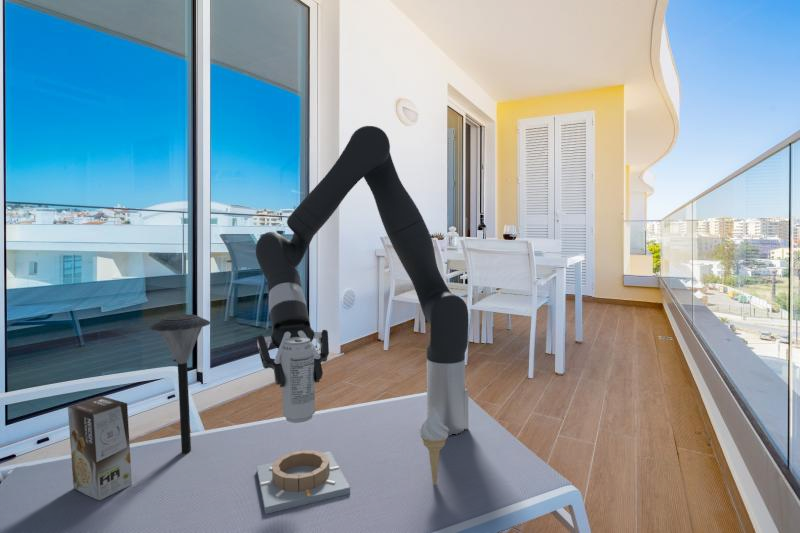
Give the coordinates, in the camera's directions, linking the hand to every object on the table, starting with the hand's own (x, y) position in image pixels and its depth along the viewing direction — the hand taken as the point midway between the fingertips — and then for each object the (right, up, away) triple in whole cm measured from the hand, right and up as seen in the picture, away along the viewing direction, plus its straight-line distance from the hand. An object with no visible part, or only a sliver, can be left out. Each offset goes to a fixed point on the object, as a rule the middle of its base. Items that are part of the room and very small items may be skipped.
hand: (300, 382), depth 83 cm
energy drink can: (-1, -7, +2) cm, 8 cm away
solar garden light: (-29, -19, +16) cm, 38 cm away
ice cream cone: (+25, -20, +2) cm, 32 cm away
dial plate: (0, -20, +3) cm, 20 cm away
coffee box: (-38, -21, +2) cm, 43 cm away
